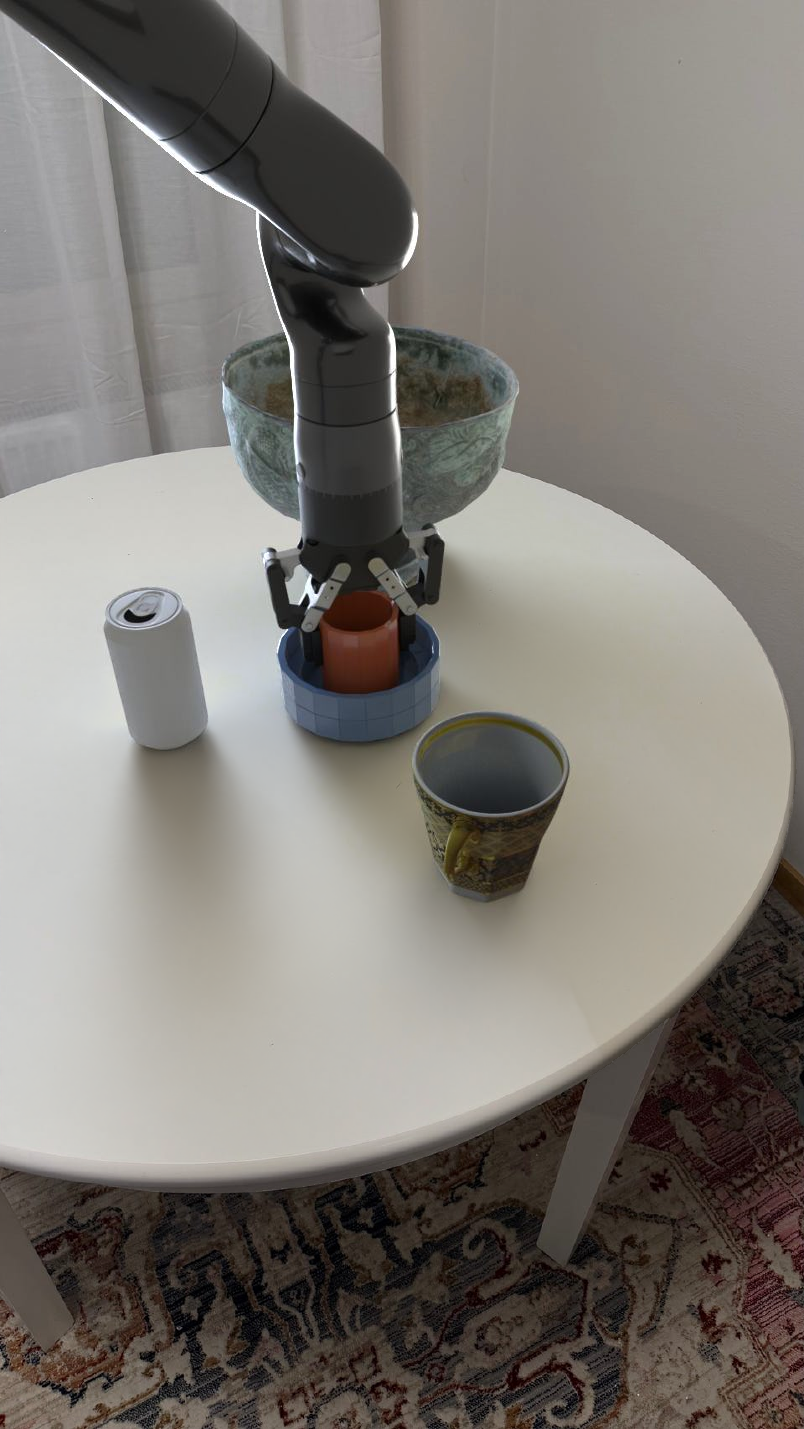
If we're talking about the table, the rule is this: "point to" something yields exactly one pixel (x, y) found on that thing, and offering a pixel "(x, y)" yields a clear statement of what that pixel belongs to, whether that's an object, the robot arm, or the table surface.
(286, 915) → the table surface
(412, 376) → the decorative bowl
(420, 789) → the ceramic cup
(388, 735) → the bowl
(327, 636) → the cup
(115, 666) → the beverage can
